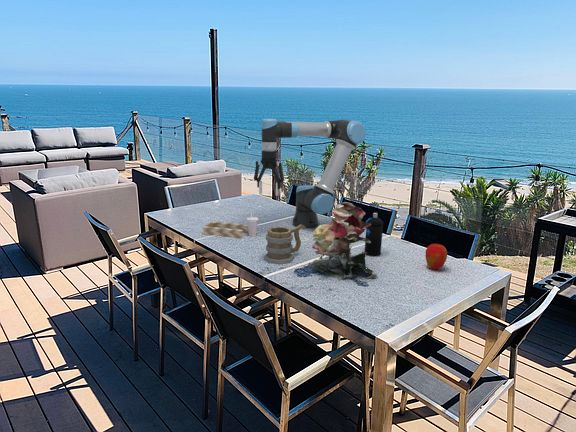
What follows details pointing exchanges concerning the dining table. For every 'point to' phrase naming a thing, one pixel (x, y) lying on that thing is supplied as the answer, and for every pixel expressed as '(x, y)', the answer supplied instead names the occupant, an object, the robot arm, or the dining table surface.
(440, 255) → the apple
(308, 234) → the dining table surface
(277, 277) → the dining table surface
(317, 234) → the rose bouquet
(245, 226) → the braided bread loaf
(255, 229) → the smoothie
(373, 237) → the aerosol can
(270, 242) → the tankard
